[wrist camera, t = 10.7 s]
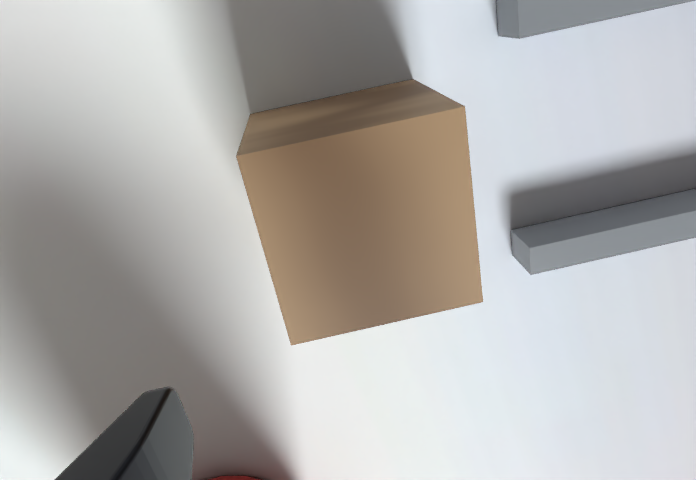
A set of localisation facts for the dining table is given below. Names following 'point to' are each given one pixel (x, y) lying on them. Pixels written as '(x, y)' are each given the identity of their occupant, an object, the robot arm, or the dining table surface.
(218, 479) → the smoothie
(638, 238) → the channel
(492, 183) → the dining table surface
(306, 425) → the dining table surface
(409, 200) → the tan block
